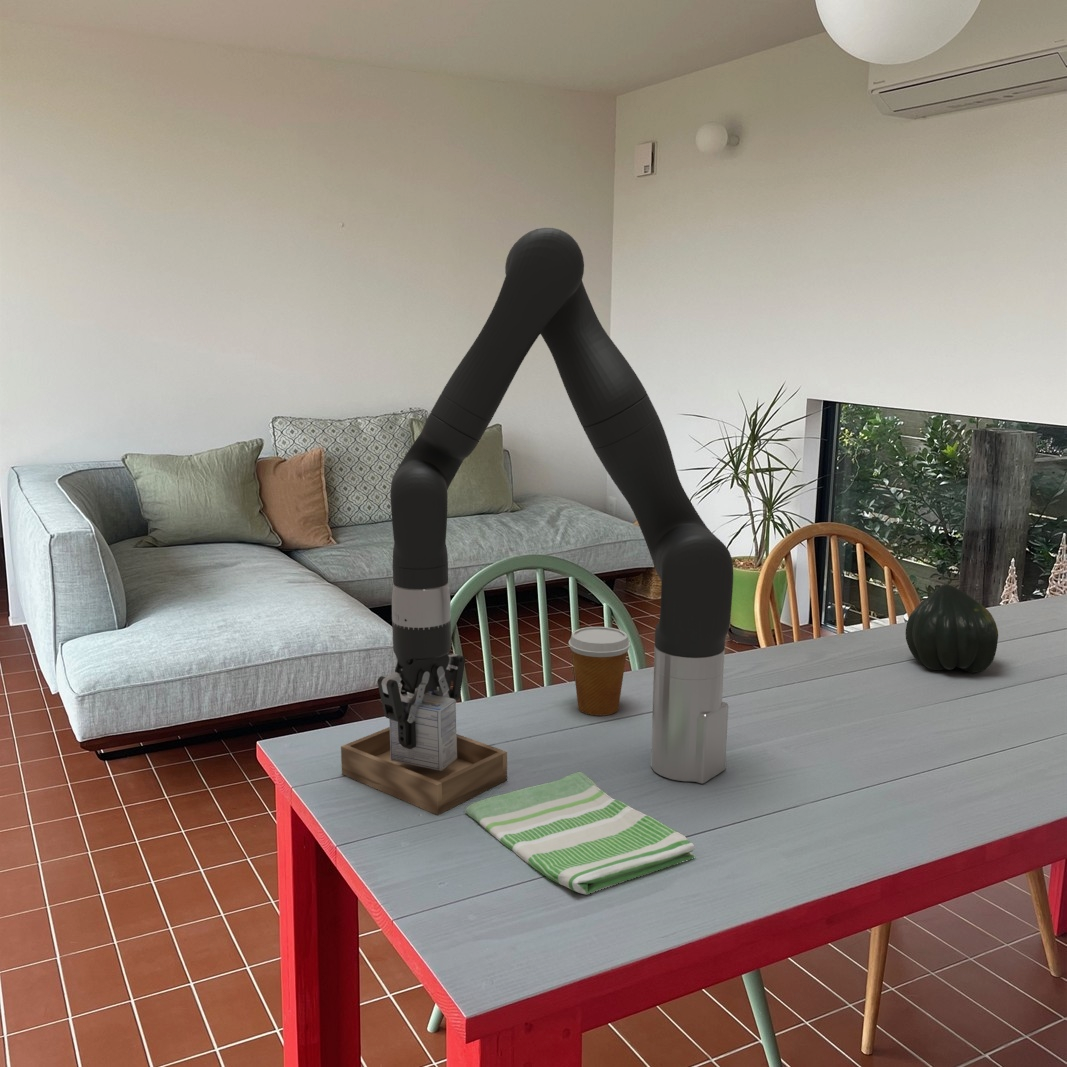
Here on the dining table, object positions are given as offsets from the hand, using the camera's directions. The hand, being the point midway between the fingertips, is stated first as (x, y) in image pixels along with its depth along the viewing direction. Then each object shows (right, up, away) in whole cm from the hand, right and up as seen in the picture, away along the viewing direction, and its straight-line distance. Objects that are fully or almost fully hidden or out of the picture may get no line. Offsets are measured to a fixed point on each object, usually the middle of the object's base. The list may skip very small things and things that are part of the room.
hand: (424, 739), depth 139 cm
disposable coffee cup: (+25, 0, +26) cm, 35 cm away
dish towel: (+20, -9, -14) cm, 26 cm away
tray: (0, -5, +1) cm, 5 cm away
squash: (+87, +4, +46) cm, 99 cm away
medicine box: (0, -3, +1) cm, 3 cm away
